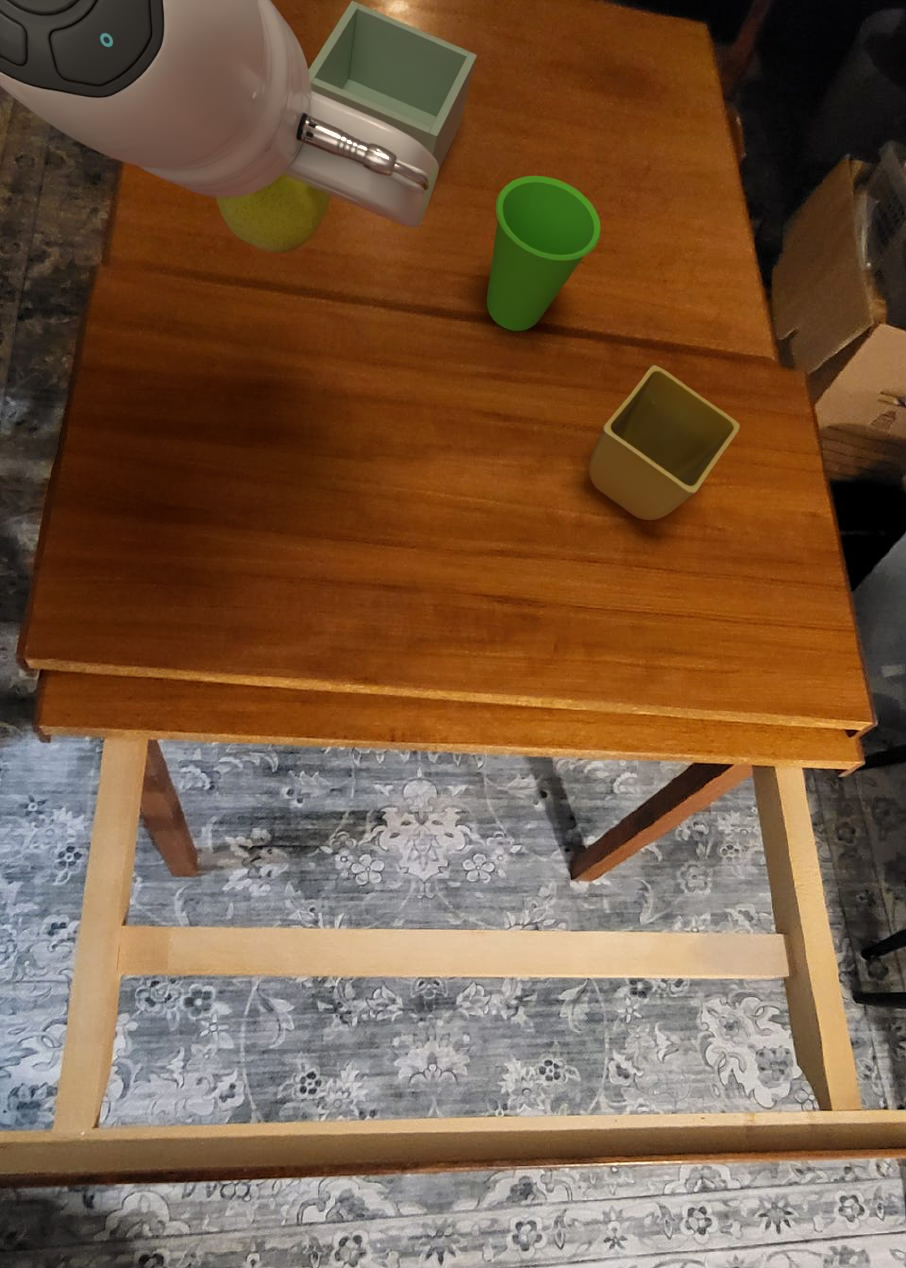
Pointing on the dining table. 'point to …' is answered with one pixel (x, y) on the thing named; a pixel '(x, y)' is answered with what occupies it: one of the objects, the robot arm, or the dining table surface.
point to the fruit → (276, 215)
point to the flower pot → (659, 446)
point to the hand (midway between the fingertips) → (280, 142)
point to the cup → (537, 247)
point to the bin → (395, 76)
